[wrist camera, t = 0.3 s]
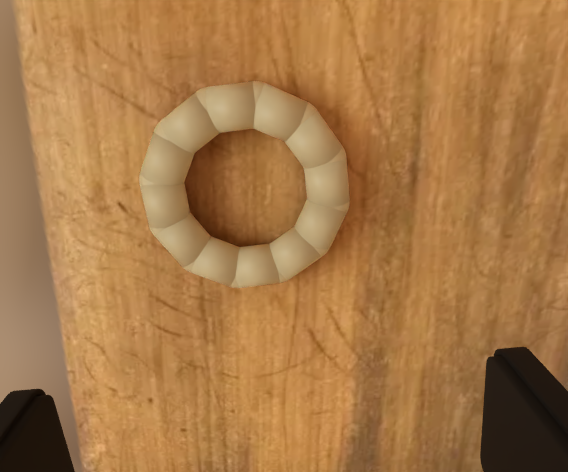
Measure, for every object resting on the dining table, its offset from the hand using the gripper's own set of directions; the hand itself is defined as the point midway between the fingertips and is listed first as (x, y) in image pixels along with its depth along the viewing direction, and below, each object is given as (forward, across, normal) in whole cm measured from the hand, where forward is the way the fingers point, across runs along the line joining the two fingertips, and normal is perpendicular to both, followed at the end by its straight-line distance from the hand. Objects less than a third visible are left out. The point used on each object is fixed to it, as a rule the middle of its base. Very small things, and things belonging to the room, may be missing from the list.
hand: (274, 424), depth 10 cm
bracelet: (+13, +1, -2) cm, 14 cm away
